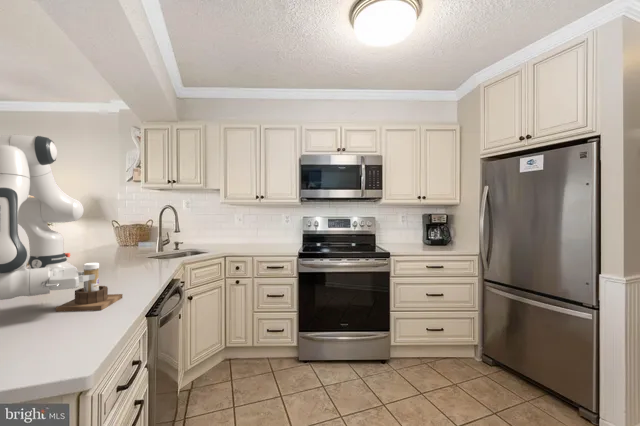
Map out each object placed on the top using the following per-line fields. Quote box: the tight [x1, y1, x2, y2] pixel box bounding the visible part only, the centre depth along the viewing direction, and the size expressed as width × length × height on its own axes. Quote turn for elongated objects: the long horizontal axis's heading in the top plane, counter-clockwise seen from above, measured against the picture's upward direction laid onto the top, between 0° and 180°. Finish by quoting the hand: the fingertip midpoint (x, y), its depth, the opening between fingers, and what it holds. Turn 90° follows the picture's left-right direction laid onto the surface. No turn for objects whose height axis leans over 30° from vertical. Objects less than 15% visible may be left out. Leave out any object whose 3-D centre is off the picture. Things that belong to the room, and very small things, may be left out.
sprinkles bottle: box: [82, 262, 100, 292], centre depth 109 cm, size 5×5×13 cm
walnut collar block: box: [55, 285, 123, 313], centre depth 109 cm, size 14×14×6 cm
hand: (94, 275), depth 109 cm, fingers closed on sprinkles bottle, 4 cm apart
